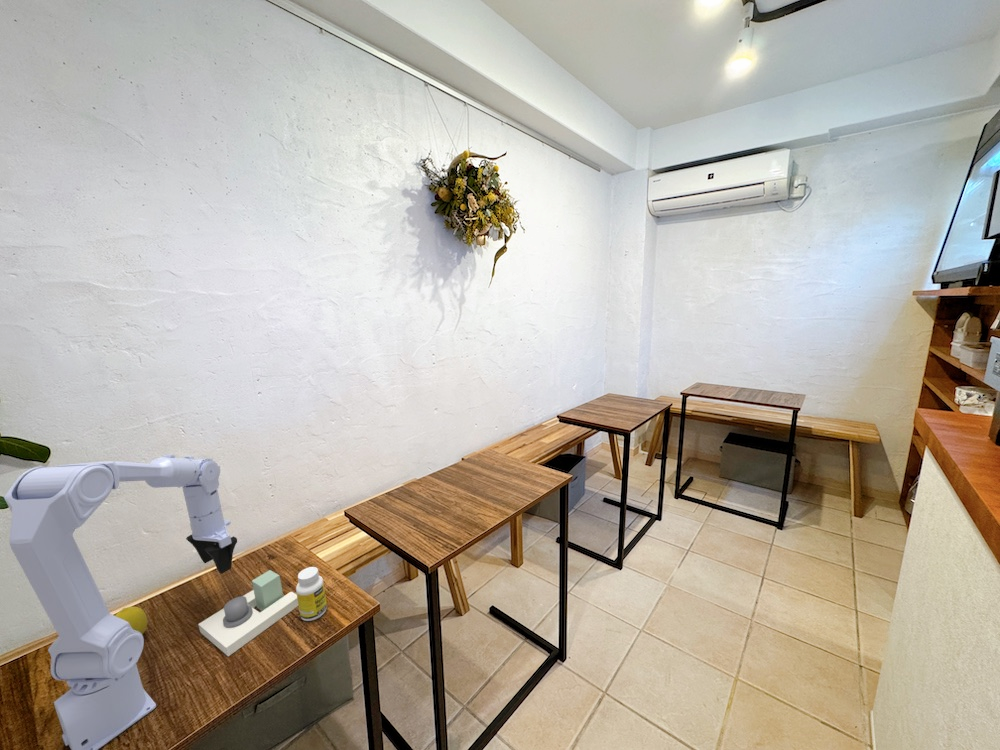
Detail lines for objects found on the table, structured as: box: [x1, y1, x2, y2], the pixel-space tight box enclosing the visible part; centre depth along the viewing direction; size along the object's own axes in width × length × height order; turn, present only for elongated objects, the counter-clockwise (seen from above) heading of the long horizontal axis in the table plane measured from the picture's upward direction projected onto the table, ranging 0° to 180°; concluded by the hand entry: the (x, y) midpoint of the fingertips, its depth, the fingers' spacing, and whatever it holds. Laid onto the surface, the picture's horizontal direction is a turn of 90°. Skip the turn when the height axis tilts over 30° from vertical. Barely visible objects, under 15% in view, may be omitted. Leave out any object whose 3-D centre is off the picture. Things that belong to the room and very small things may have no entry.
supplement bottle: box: [295, 566, 328, 622], centre depth 85 cm, size 5×5×10 cm
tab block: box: [251, 569, 284, 612], centre depth 88 cm, size 4×4×7 cm
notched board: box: [197, 589, 299, 657], centre depth 85 cm, size 15×12×6 cm
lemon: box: [114, 606, 148, 635], centre depth 80 cm, size 6×6×8 cm
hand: (217, 565), depth 89 cm, fingers open, 7 cm apart
